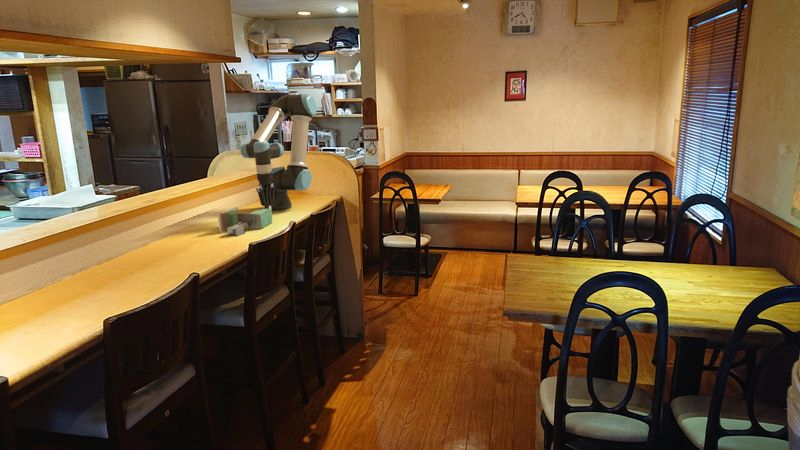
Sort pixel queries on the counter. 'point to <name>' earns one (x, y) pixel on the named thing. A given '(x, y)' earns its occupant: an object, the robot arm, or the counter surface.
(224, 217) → the gauge housing
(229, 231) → the plunger
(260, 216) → the box
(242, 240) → the counter surface
